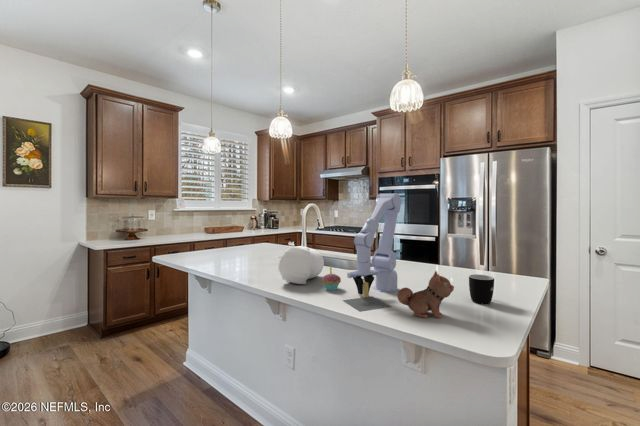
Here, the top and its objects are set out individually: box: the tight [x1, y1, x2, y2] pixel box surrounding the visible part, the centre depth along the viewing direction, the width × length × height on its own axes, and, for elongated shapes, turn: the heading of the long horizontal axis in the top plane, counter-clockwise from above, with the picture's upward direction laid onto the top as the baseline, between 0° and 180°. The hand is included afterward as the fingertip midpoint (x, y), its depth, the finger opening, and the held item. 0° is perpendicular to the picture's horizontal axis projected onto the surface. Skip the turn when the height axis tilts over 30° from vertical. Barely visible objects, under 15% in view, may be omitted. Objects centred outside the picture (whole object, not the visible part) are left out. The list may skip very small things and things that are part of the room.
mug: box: [468, 273, 495, 305], centre depth 126 cm, size 12×9×10 cm
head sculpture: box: [277, 241, 325, 285], centre depth 161 cm, size 19×20×28 cm
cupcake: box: [321, 264, 342, 291], centre depth 143 cm, size 9×8×12 cm
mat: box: [341, 296, 392, 312], centre depth 122 cm, size 14×14×1 cm
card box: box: [358, 281, 370, 298], centre depth 132 cm, size 2×5×6 cm, turn 22°
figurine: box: [397, 270, 455, 319], centre depth 112 cm, size 10×19×15 cm, turn 80°
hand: (363, 293), depth 132 cm, fingers open, 3 cm apart
